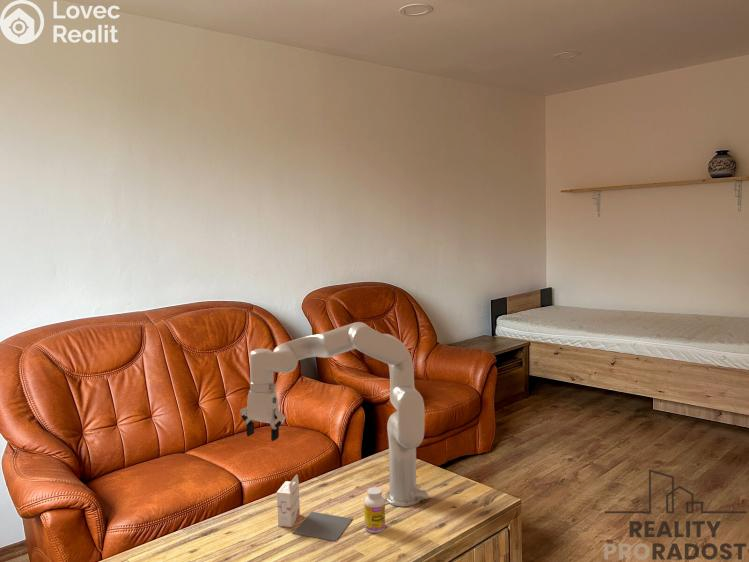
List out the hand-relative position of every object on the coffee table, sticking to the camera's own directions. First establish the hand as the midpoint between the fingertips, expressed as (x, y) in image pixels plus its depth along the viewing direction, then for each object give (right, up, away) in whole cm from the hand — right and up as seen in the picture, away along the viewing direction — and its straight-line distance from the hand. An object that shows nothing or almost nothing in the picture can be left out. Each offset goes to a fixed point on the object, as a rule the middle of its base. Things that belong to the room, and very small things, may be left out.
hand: (262, 437), depth 190 cm
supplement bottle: (+37, -29, -4) cm, 47 cm away
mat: (+20, -28, -3) cm, 35 cm away
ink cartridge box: (+9, -28, +1) cm, 30 cm away
